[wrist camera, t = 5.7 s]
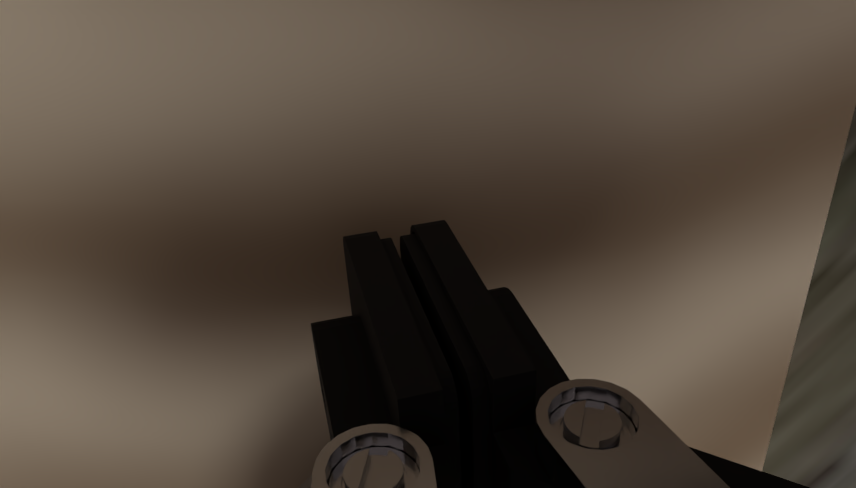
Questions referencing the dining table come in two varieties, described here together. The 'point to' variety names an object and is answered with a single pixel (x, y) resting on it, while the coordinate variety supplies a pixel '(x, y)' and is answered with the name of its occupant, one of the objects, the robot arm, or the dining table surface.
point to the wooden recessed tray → (396, 208)
